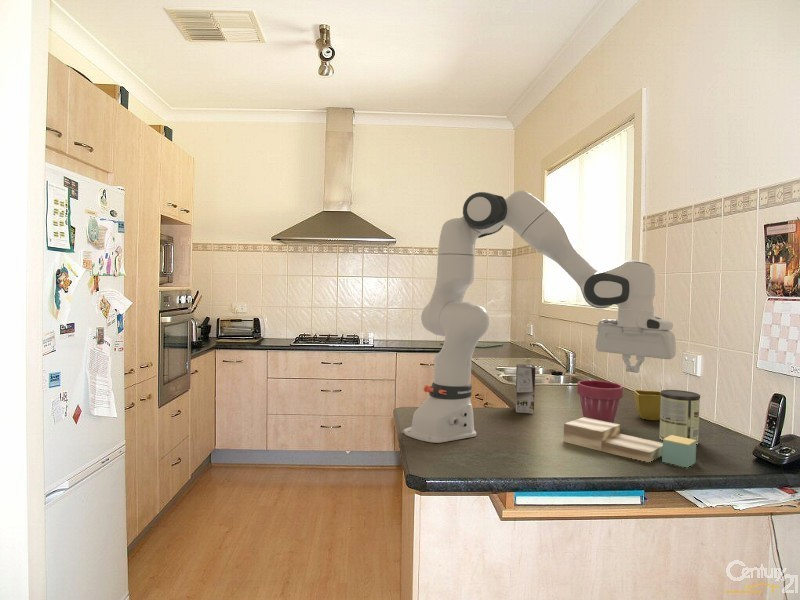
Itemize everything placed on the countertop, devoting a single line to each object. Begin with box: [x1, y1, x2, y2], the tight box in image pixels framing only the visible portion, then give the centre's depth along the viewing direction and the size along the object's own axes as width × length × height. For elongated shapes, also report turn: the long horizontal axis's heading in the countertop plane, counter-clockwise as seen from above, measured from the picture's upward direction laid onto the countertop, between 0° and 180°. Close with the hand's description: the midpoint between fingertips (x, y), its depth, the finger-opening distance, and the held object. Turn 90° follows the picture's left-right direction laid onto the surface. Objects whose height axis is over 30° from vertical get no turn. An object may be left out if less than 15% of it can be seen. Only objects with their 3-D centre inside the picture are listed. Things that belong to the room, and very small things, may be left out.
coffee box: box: [515, 363, 536, 415], centre depth 185 cm, size 9×6×16 cm
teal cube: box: [661, 435, 697, 468], centre depth 132 cm, size 6×6×6 cm
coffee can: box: [658, 389, 701, 445], centre depth 152 cm, size 10×10×14 cm
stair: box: [563, 417, 663, 463], centre depth 143 cm, size 12×24×5 cm, turn 44°
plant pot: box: [576, 379, 624, 423], centre depth 171 cm, size 14×14×13 cm
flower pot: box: [633, 389, 661, 421], centre depth 178 cm, size 9×9×9 cm
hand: (632, 372), depth 140 cm, fingers closed
